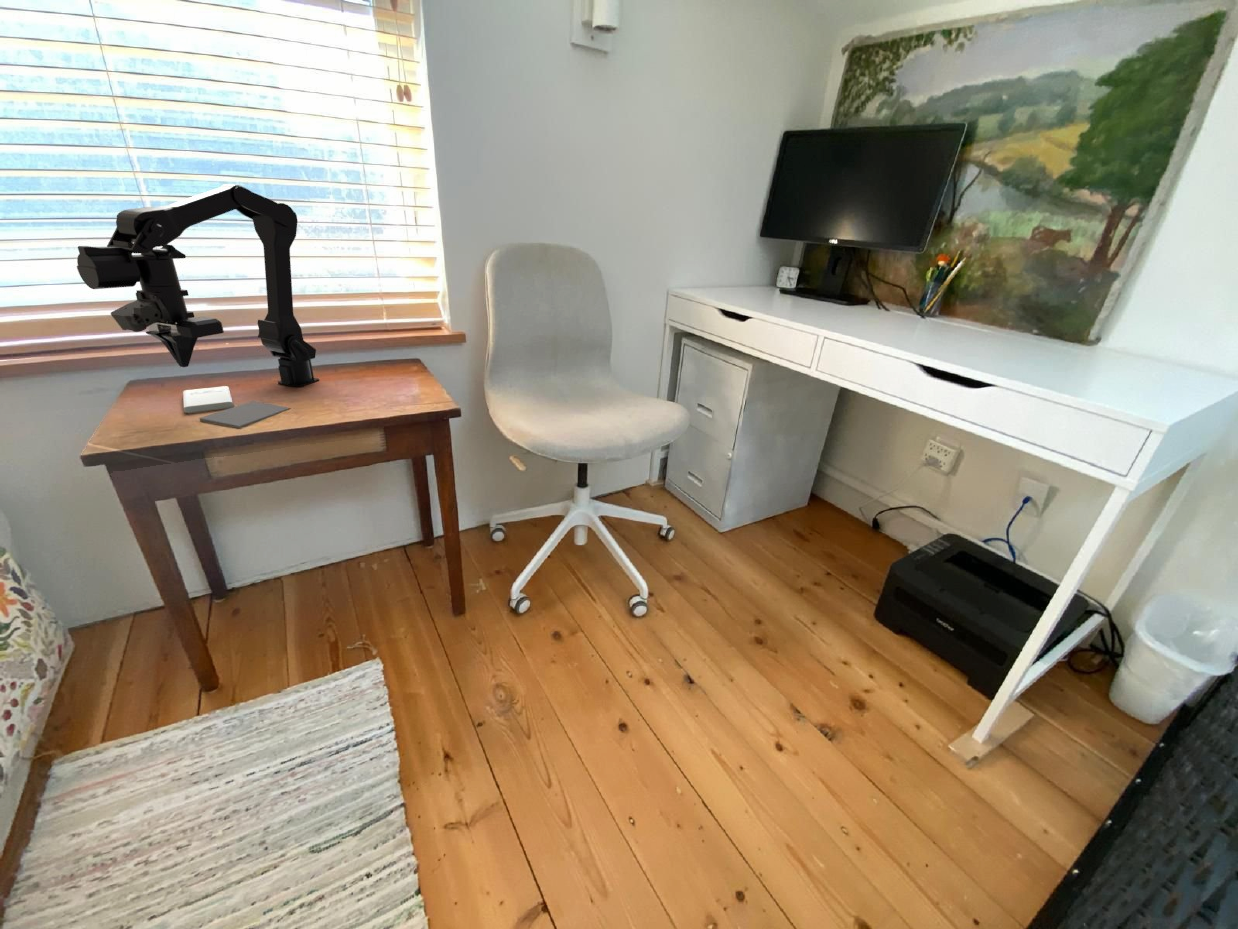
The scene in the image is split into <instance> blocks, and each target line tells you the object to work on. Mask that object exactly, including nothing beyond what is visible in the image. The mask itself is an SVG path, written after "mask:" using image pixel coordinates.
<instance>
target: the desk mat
mask: <svg viewBox="0 0 1238 929" xmlns="http://www.w3.org/2000/svg"><path fill="white" fill-rule="evenodd" d="M289 410H291V407H287V406H283V405H276V404H274V403H273V404H272V403H268V402H266V403H265V402H262V401H256V400H252V401H248V402H245V403H242V404H238V405H236V406H234V407H232V408H227V409H222V410H221V411H217V412H213V413H210V414H208V415H204V416H201V417H199V421H200V422H203V423H207V424H213V425H220V426H224V427H229V428H233V429H234V428H235V429H239V430H241V429H242V428H245V427H248V426H251V425H253V424H255V423H259V422H261V421H264V420H266V419H268V418H271V417H274V416H276V415H278V414H281V413H283V411H284V412H285V411H289Z"/></svg>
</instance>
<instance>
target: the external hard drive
mask: <svg viewBox="0 0 1238 929" xmlns="http://www.w3.org/2000/svg"><path fill="white" fill-rule="evenodd" d="M182 392H183V393H182V397H183V399H182V400H183V410H184V413H185V414H190V415H191V414H198V413H206V412H211V411H219V410H226V409H229V408H232V407H235V406H234V403H233V398H232V395H231V392H230V388H229V386H226V385H222V386H214V387H205V388H196V389H195V388H194V389H185V390H183V391H182Z"/></svg>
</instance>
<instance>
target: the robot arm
mask: <svg viewBox="0 0 1238 929" xmlns="http://www.w3.org/2000/svg"><path fill="white" fill-rule="evenodd" d="M235 210H236V211H237V212H238V213H240V215H242V216H244V217H246V218H248V219H250V220H252V222H253V227H254V230H255V233H256V235H257V236H258V238H259V240H260V242H261V243H262V245H263V246H262V248H263V257H264V258H263V259H264V271H265V272H264V273H265V285H266V286H265V288H266V289H265V290H266V299H267V300H266V301H267V314H266V316H265V318H264V319H258V320H257V327H258V335H257V338H259V339H260V340H261V343H262V346H263V347H265V348H266V349H267V350H269V352H270V354H271V355H272V356H273V357H277V358H278V359H277V361H278V372H279V376H280V380H278V381H277V384H278V385H284V386H290V387H294V388H295V387H296V388H301V387H305V386H307V385H310V384H313V383H317V382H319V381H320V378H317V377H314V375H315V374H314V371H313V366H312V360H313V359H315V358H316V355H317V354H316V353H317V349H316V348H315V347H313V345H310V344H309V342H307V341H305V340H304V336H303V332H302V327H301V326H300V324H299V321H297V318H296V317H295V314H294V301H293V286H292V267H291V266H292V265H291V246H293V242H294V241H295V239H296V238H297V230H298V216H297V214H296V212H295V211H294V209H293V208H292V207H291V206H290V205H288V204H286V203H284V202H277V201H275V200H273V199H271V198H270V199H269V198H267V197H265V196H263V195H260V194H259V193H255V192H254V191H252V190H249V189H247V188H246V187H244V186H242V185H239V184H229V183H226V184H225V183H223V184H222V185H221V186H219V187H217V188H214V189H211V190H208V191H205V192H202V193H199V194H196V195H193V196H190V197H188V198H185V199H182V200H178V201H175V202H172V203H170V204H167V205H158V206H146V207H138V208H137V207H136V208H129V209H124V210H121V211H120V212H119V213H117V214H116V218H115V219H116V220H115V225H116V228H115V230H114V232H113V234H112V236H111V238H110V239H109V241H108V244H107V246H90V245H78V246H77V250H78V252H79V254H78V255H77V261H76V262H77V263H76V264H77V265H76V269H77V272H78V274H79V276H80V278H81V279H82V281H83V282H84V284H85V285H86V286H87V287H89V288H90V289H92V290H100V289H101V290H103V289H105V290H106V289H115V288H116V289H117V288H129V287H130V288H131V287H135V286H136V285H137V283H138V282H139V284H140V287H141V289H139V290H137V289H136V292H135V296H136V297H135V298H136V300H134V301H132V302H128V303H126V304H125V305H123V306H121V307H119V308H117V309H114V310H113V311H111V312H110V315H111V316H112V319H114V320H115V322H116V323H117V325H119V327H120V328H121V329H122V330H123V331H132V332H134V333H140V332H143V331H145V330H146V329H147V328H148V331H147V330H146V331H145V334H147V335H149V336H151V337H153V338H156V339H157V340H159V341H161V343H162V344H163V345H164V346H165V348H166V349H167V350H168V352H169V353H170V355H172V358H173V359H174V360H175V362H176V363H177V364H178V366H179V367H180V368H186V367H189V365H190V362H191V359H192V356H193V352H194V350H195V349H194V348H195V345H196V343H197V341H198V339H199V338H204V337H208V336H214V335H220V334H224V332H225V330H224V327H223V322H221V321H220V320H219V319H217V318H215V317H209V316H208V317H207V316H198V317H197V316H195V314H194V311H188V308H187V306H186V305H187V304H186V302H185V297H187V296H189V291H188V289H182V286H181V283H180V280H179V276H178V273H177V268H176V266H175V262H174V260H175V259H177V260H178V259H186V257H187V256H186V254H184V253H183V252H181V251H180V250H178V249H176V248H175V246H174V245H173V244H170V243H172V242H173V241H174V240H176V239H177V238H179V237H180V236H181V235H183V233H184V231H185V230H187V229H189V228H190V227H192V226H195V225H197V224H200V223H204V222H206V221H208V220H210V219H213V218H215V217H219V216H221V215H224V214H226V213H230V212H231V211H235ZM157 247H159V248H157ZM133 254H134V255H133Z"/></svg>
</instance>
